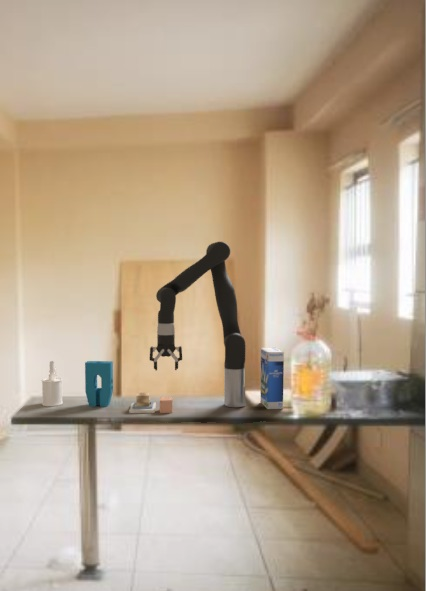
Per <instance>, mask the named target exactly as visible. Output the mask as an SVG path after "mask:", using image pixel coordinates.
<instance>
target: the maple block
mask: <svg viewBox="0 0 426 591" xmlns="http://www.w3.org/2000/svg"><path fill="white" fill-rule="evenodd" d="M150 402H151V392H137V393H136V402H135V403H137V407H149V406H150Z"/></svg>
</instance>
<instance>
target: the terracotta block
mask: <svg viewBox="0 0 426 591" xmlns="http://www.w3.org/2000/svg"><path fill="white" fill-rule="evenodd" d="M173 400H174V398H173V397H172V396H171V397H170V396H169V397H167V396H166V397H163V396H161V397H159V414H163V413H165V414H168V413H169V414H170V413H171V414H172V413H173V412H174V411H173V410H174V408H173V407H174V406H173V402H174V401H173Z"/></svg>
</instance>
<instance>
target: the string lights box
mask: <svg viewBox="0 0 426 591" xmlns="http://www.w3.org/2000/svg"><path fill="white" fill-rule="evenodd" d="M284 359H285V352H284V351H282V350H281V349H279V348H276V347H261V348H260V403H261V404H262V406H264V407H265V408H266V409H267V410H282V409H284V372H285V370H284V365H285V363H284V362H285V360H284Z"/></svg>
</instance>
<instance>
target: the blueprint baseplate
mask: <svg viewBox="0 0 426 591" xmlns="http://www.w3.org/2000/svg"><path fill="white" fill-rule="evenodd" d="M156 407H157V402H156V401H155V402H153V401H150V406H149V407H137V403H136V402H132V403H131V404H130V408H129V410H128V413H129V414H153V413H154V414H155V412H156Z"/></svg>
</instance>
